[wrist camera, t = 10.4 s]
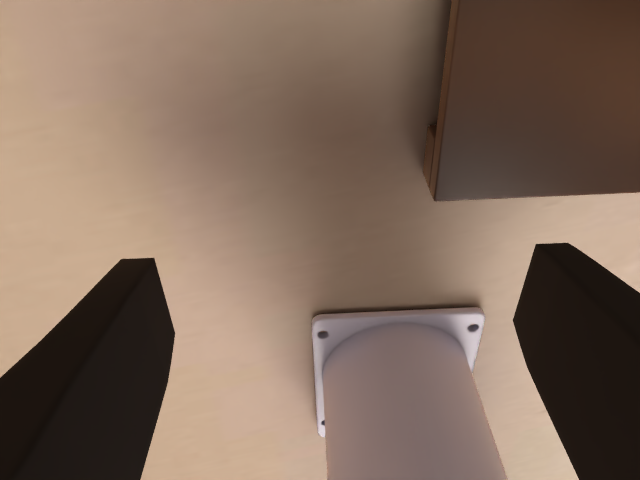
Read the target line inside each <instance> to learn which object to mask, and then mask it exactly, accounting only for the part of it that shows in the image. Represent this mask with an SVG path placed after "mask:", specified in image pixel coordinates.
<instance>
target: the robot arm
mask: <svg viewBox="0 0 640 480" xmlns="http://www.w3.org/2000/svg"><path fill="white" fill-rule="evenodd" d="M513 322H514V326H515V329H516V332H517V336H518V339H519V343H520V346H521V349H522V352H523V355H524V358H525V362H526V365H527V368H528V370H529V372H530V374H531V377H532V379H533V381H534V383H535V385H536V388H537V390H538V392H539V394H540V396H541V399H542V401H543V403H544V405H545V407H546V409H547V412H548V414H549V416H550V418H551V420H552V422H553V424H554V427H555V429H556V431H557V433H558V435H559V437H560V439H561V442H562V444H563V446H564V448H565V450H566V452H567V454H568V457H569V459H570V461H571V463H572V465H573V467H574V469H575V472H576V474H577V476H578V478H579V480H640V293H639V292H637V291H636V290H635V289H633V288H632V287H630V286H629V285H628V284H626V283H625V282H624V281H622V280H621V279H619V278H618V277H617V276H615V275H614V274H612V273H611V272H610V271H608V270H607V269H605V268H604V267H603V266H601V265H600V264H598V263H597V262H596V261H594V260H593V259H591V258H590V257H589V256H587V255H586V254H584V253H583V252H581V251H580V250H578V249H577V248H575V247H574V246H572V245H570V244H569V243H552V244H536V246H535V249H534V252H533V256H532V259H531V262H530V266H529V269H528V272H527V275H526V279H525V282H524V285H523V289H522V292H521V295H520V299H519V302H518V305H517V309H516V312H515V315H514V318H513ZM484 323H485V314H484V312H483V310H482V309H480V308H478V307H467V308H445V309H424V310H402V311H380V312H359V313H337V314H320V315H317V316H315V317H314V318H313V319H312V341H313V358H314V376H315V394H316V412H317V430H318V434H319V435H320V436H322V437H325V438H326V459H327V480H508V479H507V476H506V473H505V470H504V467H503V464H502V461H501V458H500V455H499V452H498V449H497V446H496V443H495V440H494V437H493V434H492V431H491V428H490V426H489V423H488V420H487V417H486V414H485V411H484V408H483V405H482V402H481V399H480V396H479V393H478V390H477V387H476V384H475V381H474V378H473V375H472V373H473V369H474V365H475V360H476V356H477V352H478V348H479V344H480V339H481V335H482V331H483V327H484ZM471 324H474V325H471ZM470 325H471V326H470ZM320 331H326V332H320ZM174 337H175V331H174V328H173V324H172V321H171V317H170V313H169V310H168V306H167V303H166V299H165V295H164V292H163V288H162V285H161V281H160V277H159V274H158V270H157V267H156V263H155V259H154V258H139V259H121V260H120V261H119V262H118V263H117V264H116V265H115V266H114V267H113V268H112V269H111V270H110V271H109V272H108V273H107V274H106V275H105V276H104V277H103V278H102V279H101V280H100V281H99V282H98V283H97V284H96V285H95V286H94V288H93V289H92V290H91V291H90V292H89V293H88V294H87V295H86V296H85V297H84V298H83V299H82V300H81V301H80V302H79V303H78V304H77V305H76V306H75V307H74V308H73V309H72V310H71V311H70V312H69V313H68V314H67V315H66V316H65V317H64V318H63V319H62V320H61V321H60V322H59V323H58V324H57V325H56V326H55V327H54V328H53V329H52V330H51V331H50V332H49V333H48V334H47V335H46V336H45V337H44V338H43V339H42V340H41V341H40V342H39V343H38V344H37V345H36V346H35V347H33V348H32V349H31V350H30V351H29V352H28V353H27V354H26V355H25V356H24V357H22V358H21V359H20V360H19V361H18V362H17V363H16V364H15V365H14V366H13V367H12V368H10V369H9V370H8V371H7V372H6V373H5V374H4V375H3V376H2V377H1V378H0V480H140V479H141V475H142V472H143V468H144V465H145V461H146V458H147V454H148V451H149V447H150V444H151V440H152V437H153V433H154V430H155V426H156V423H157V419H158V416H159V412H160V408H161V405H162V401H163V398H164V394H165V390H166V387H167V383H168V378H169V371H170V365H171V359H172V352H173V345H174Z"/></svg>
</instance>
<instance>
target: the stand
mask: <svg viewBox="0 0 640 480" xmlns="http://www.w3.org/2000/svg"><path fill="white" fill-rule="evenodd" d="M423 174H424V177H425V179H426V182H427V184H428V187H429V190H430V192H431V195H432V197H433V200H434V201H455V200H478V199H500V198H523V197H546V196H569V195H592V194H615V193H637V192H640V0H452V2H451V10H450V19H449V27H448V36H447V44H446V53H445V61H444V70H443V78H442V87H441V95H440V104H439V112H438V121H437V125H429V126H428V130H427V139H426V149H425V158H424V167H423Z"/></svg>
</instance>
